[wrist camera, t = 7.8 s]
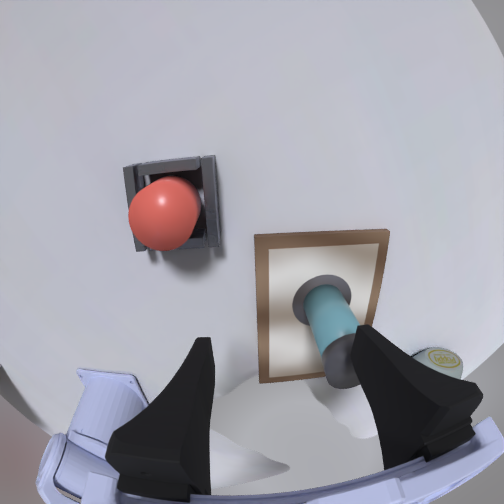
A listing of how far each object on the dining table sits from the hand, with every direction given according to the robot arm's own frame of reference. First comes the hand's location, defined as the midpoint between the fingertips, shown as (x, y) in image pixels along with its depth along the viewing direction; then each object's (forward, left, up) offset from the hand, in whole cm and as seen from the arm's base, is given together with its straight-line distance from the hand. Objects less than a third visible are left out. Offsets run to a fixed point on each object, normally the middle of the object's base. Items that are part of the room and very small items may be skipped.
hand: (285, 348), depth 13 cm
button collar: (+5, +6, -10) cm, 13 cm away
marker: (-4, -5, -9) cm, 11 cm away
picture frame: (-6, -5, -10) cm, 12 cm away
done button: (+5, +6, -8) cm, 12 cm away
